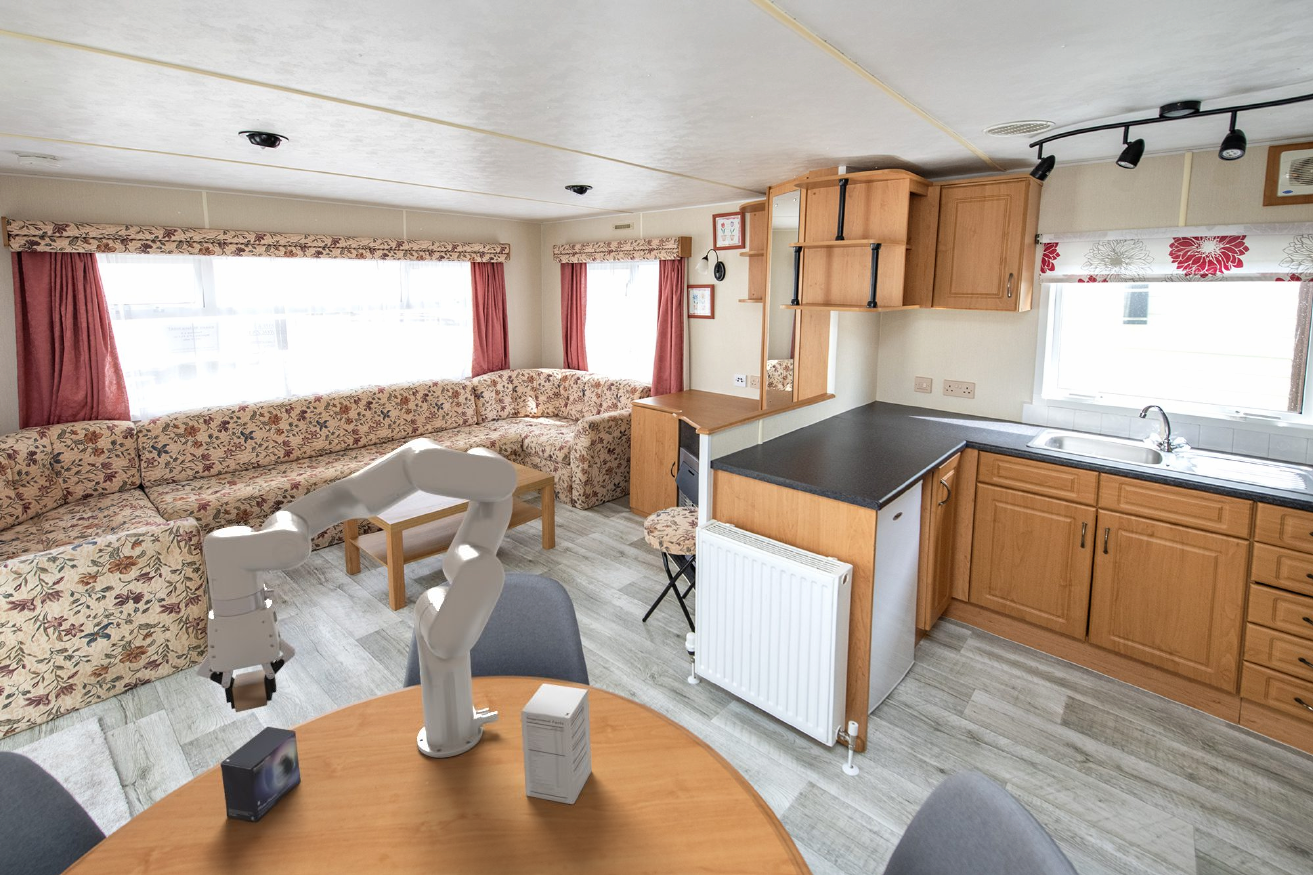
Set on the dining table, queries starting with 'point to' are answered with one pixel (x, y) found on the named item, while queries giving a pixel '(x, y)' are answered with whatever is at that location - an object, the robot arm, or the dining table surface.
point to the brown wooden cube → (249, 690)
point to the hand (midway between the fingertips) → (252, 699)
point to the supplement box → (556, 743)
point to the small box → (260, 773)
